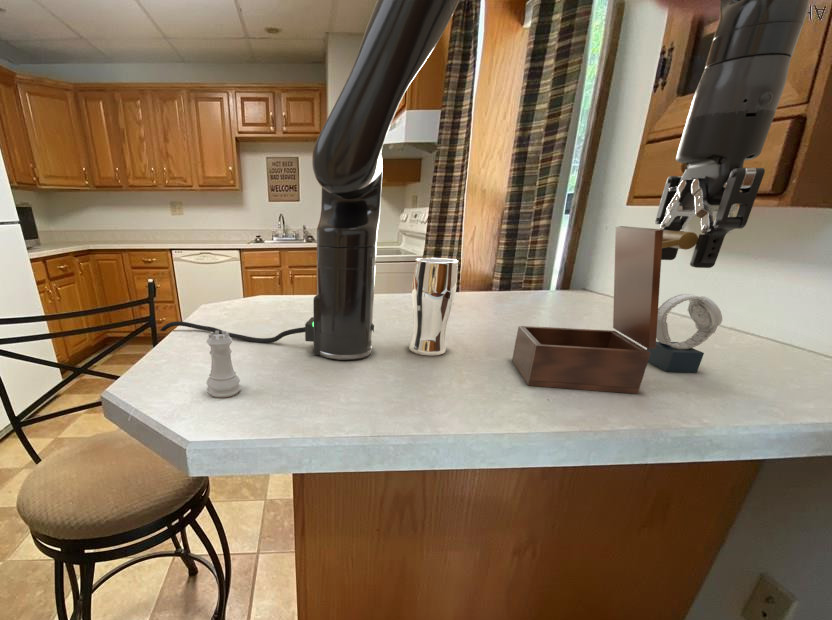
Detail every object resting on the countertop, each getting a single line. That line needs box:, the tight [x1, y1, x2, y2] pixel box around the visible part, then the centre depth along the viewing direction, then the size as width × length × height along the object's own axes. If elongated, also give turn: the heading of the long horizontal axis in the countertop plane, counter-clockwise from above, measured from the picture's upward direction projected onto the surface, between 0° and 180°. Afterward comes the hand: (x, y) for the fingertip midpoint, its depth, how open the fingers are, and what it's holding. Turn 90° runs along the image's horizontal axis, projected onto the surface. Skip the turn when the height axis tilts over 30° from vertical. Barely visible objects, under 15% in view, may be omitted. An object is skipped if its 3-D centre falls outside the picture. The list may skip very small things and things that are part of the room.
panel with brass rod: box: [612, 225, 699, 350], centre depth 55 cm, size 14×11×6 cm
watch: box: [646, 293, 723, 374], centre depth 64 cm, size 6×8×11 cm
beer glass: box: [408, 257, 459, 357], centre depth 70 cm, size 7×7×15 cm
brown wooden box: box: [511, 325, 651, 395], centre depth 61 cm, size 14×11×6 cm
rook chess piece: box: [206, 330, 242, 398], centre depth 54 cm, size 4×4×8 cm
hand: (681, 263), depth 54 cm, fingers open, 7 cm apart
